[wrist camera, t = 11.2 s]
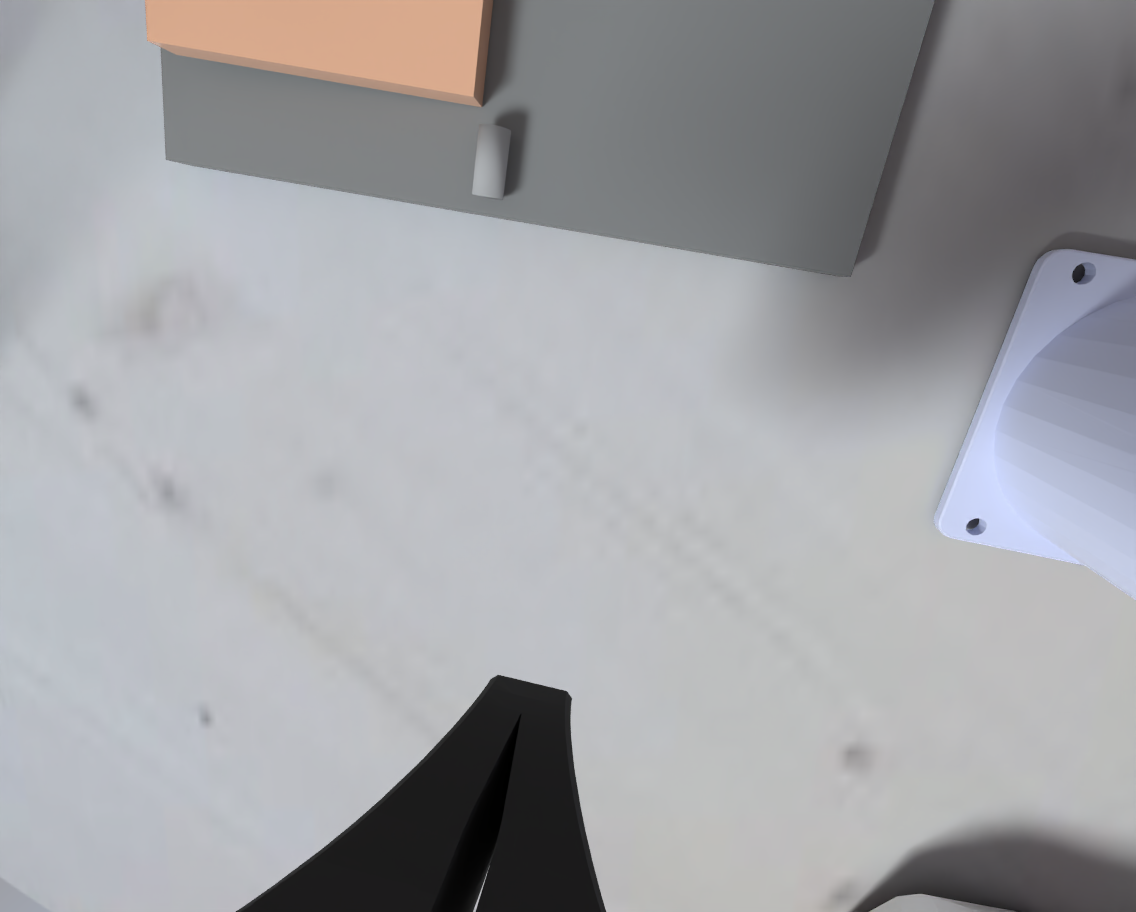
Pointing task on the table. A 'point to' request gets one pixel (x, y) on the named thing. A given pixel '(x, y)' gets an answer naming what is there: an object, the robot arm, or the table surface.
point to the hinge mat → (603, 124)
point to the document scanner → (932, 905)
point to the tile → (339, 40)
